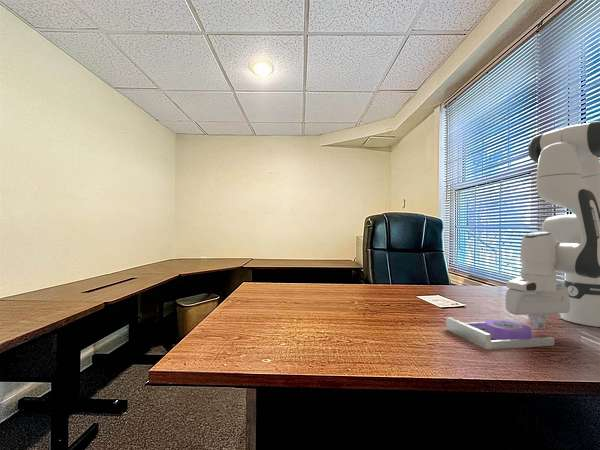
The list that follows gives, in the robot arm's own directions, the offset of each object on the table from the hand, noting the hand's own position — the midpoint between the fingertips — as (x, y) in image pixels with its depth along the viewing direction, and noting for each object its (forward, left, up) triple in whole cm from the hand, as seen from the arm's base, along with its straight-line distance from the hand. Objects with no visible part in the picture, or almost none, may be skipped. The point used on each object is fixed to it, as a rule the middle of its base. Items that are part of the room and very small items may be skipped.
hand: (538, 327), depth 95 cm
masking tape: (+11, 0, -3) cm, 11 cm away
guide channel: (+14, 0, -2) cm, 14 cm away
